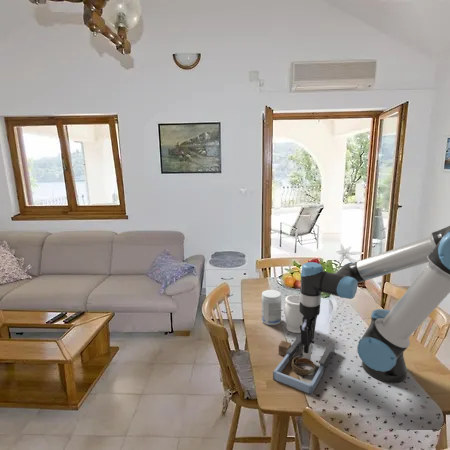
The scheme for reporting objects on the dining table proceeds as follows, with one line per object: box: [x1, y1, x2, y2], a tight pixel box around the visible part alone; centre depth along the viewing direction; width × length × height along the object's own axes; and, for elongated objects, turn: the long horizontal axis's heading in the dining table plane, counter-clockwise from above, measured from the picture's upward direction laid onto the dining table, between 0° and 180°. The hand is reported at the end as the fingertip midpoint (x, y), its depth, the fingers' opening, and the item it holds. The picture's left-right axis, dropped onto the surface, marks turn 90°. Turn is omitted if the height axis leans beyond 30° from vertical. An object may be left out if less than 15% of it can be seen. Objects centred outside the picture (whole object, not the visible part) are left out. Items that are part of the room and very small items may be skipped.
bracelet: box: [291, 356, 316, 377], centre depth 121 cm, size 9×9×3 cm
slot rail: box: [287, 333, 336, 373], centre depth 129 cm, size 16×14×4 cm
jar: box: [284, 294, 304, 334], centre depth 148 cm, size 11×10×15 cm
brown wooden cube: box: [278, 340, 292, 357], centre depth 131 cm, size 4×4×4 cm
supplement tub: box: [261, 289, 282, 326], centre depth 155 cm, size 10×10×15 cm
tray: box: [272, 354, 324, 395], centre depth 117 cm, size 13×14×3 cm
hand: (306, 358), depth 125 cm, fingers closed
